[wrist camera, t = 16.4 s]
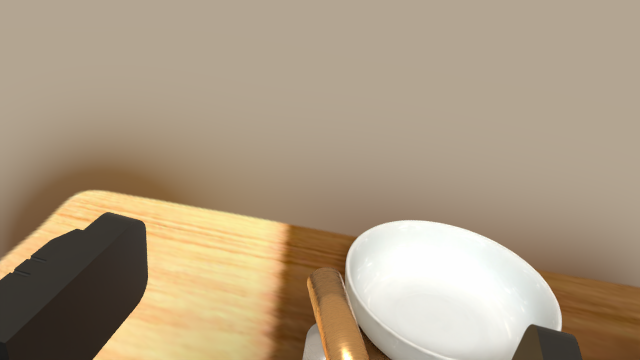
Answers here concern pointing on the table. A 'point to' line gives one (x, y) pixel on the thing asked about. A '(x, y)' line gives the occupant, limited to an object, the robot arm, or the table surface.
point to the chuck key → (332, 320)
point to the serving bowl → (444, 293)
